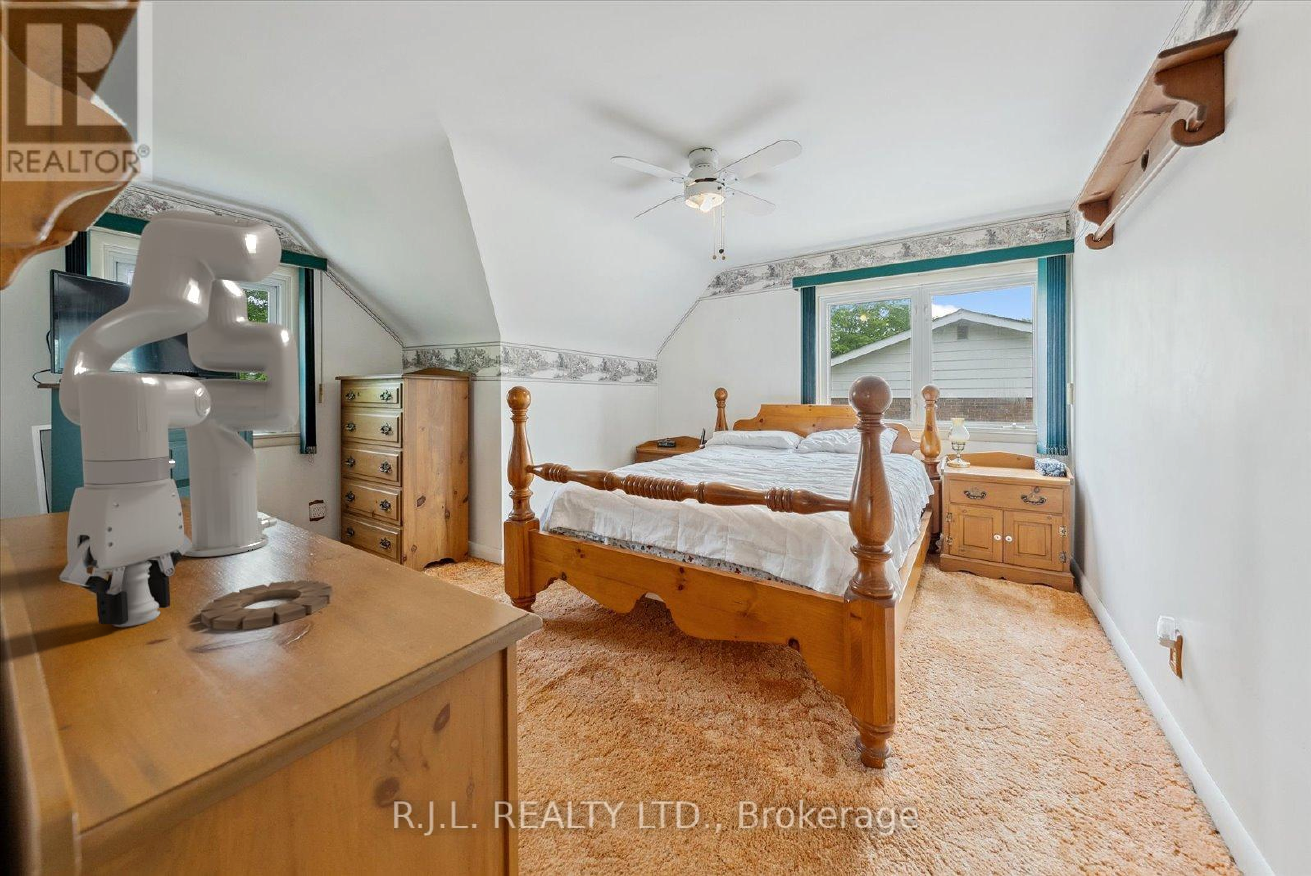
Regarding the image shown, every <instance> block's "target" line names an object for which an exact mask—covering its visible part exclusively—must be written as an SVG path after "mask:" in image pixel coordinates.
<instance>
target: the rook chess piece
mask: <svg viewBox="0 0 1311 876" xmlns="http://www.w3.org/2000/svg"><path fill="white" fill-rule="evenodd" d="M151 565H152V564H151V563H150V562H149V561H147V560H146V561H143V562H140V563H136V564H133V565H129V566H126V567H125V570H124V575H123V580H122V586H121V590H120V591H124V592H126V593H127V604H128V621H127V623H124V624H122V625H113V626H114V627H116V628H130V627H135V626H141V625H143V624H148V623H150V622H152V621H154V620H155V619H157V618H158V617H159V615H160V614H161V610H159V609H160V608H159V604H158V602H156V601H155V600H154V597H152V596H151V594H150V590H149V586H148V578H149V577H150V575H148V574H147V570H148V568H149V567H150V566H151Z"/></svg>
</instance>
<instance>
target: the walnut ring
mask: <svg viewBox="0 0 1311 876" xmlns="http://www.w3.org/2000/svg"><path fill="white" fill-rule="evenodd" d="M333 593H334V591H333V587H332V585H330V584H328V583H325V582H324V581H321V582H319V580H307V579H305V580H304V579H300V580H298V581H295V580H288V581H287V580H286V581H277V582H270V583H269V584H268V585H266V584H260V585H255V586H250V587H246V588H243V589H239V591H235V592H234V591H232V592H230V593H226V594H225V595H222V596H220V597H217V598H215V599H213V601H210V602H208V603H207V604H206V605H205V606H204V607H203V609H202V610H201V614H200V615H201V619H200V620H201V623H202V624H204V625H205V626H206V627H207V628H208V629H210V628H213V630H224V631H238V630H239V629H241V628H242V630H243V631H244V630H252V629H257V628H258V629H259V628H266V627H273V625H274V623H275V622H276V623H277V624H279V625H282V624H285V623H288V622H292V621H295V620H299V619H301V618H306V615H307V614H308V615H313V614H315V613H317V612H318V611H320V610H321V609H323V608H325V607H327V606H328V604H330V603H331V602H332V599H333ZM280 598H292V599H293V598H294V599H293V600H291V601H289V602H286V603H285V602H284V603H281V604H278V605H275V606H269V607H268V606H267V607H260V608H249V607H248V606H250V605H252V604H256V603H259V602H263V601H268V600H272V599H280ZM246 607H247V608H246Z"/></svg>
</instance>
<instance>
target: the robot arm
mask: <svg viewBox="0 0 1311 876" xmlns="http://www.w3.org/2000/svg"><path fill="white" fill-rule="evenodd" d="M137 249H138V250H137V255H136V259H135V265H134V269H133V275H132V281H131V283H130V284H131V285H130V289H129V290H130V291H129V296H128V299H127V301H126V302H124V303H123V304H122V305H120V306H118V307H116V308H114V309H111V310H110V311H109V312H107V313H105V314H104V315H103V314H102V316H101V317H99V318H97V319H96V320H95V321H93V322H92V323H91V324H90V325H88V326H87V327H86V328H84V330H82V331H81V332H80V333H79V334H78V335H77V336H76V338H75V339H73V341H72V343H71V344H70V346H69V349H68V350H67V353H66V356H65V362H64V365H63V369H62V373H61V378H60V384H59V391H58V401H59V406H60V410H61V411H62V414H63V415H64V417H66V419H67V420H68V421H70V422H71V423H73V424H74V425H76V426H80V440H81V456H82V474H83V486H82V487H76V488H75V490H74V493H73V495H72V499H71V503H70V507H69V513H68V514H69V515H68V520H67V521H68V523H67V536H66V537H67V538H66V539H67V540H66V550H67V551H66V553H67V556H66V557H67V558H66V559H67V564H66V566H65V567H64V568H63V570H62V571H61V573H60V575H59V580H60V581H62V582H65V583H69V584H74V585H77V586H79V587H81V588H84V589H85V590H88V591H89V593H90V594H96V595H95V596H96V609H97V613H96V614H97V618H98V622H99V624H101V625H113V626H114V625H122V624H124V623H127V621H128V604H127V593H126V592H124V591H121V586H122V580H123V575H124V570H125V567H126V566H129V565H133V564H136V563H140V562H143V561H146V560H147V561H149V562H150V563H151V564H152V565H151V566H150V567H149V568H148V570H147V574H148V575H150V577H149V578H148V586H149V590H150V594H151V596H152V597H154V600H155V601H156V602H158V604H159V608H158V609H165V608H168V607H170V606H171V595H170V594H171V592H170V590H171V589H170V577H171V576H173V575H174V573H175V567H176V565H178V563H179V562H180V561H181V558H182V556H184V557H185V556H186V557H195V558H196V557H197V558H201V557H202V558H205V557H206V558H207V557H219V556H227V555H233V554H239V553H240V554H241V553H245V552H249V551H253V550H257V549H259V548H262V547H264V546H266V545H267V544H268V543H269V536H268V535H267V534H264V533H263V531H264V530H265V529H268V528H272V527H274V526H276V525H277V523H278V520H277V518H276V517H274V516H271V517H268V518H267V517H266V518H264V519H262V517H258V491H257V490H258V487H257V466H256V465H257V462H256V461H257V460H256V454H255V451H254V449H253V447H252V446H251V445H250V443H249V442H248V441H246V440H245V438H243V436H241V435H240V433H238V432H247V431H248V432H251V431H253V432H256V431H257V432H258V431H259V432H261V431H263V432H264V431H266V432H267V431H268V432H270V431H286V430H290V429H292V428H294V427H295V426H296V425H297V423H298V420H299V416H300V387H299V386H300V385H299V358H298V346H297V343H296V339H295V337H294V334H293V333H292V331H291V330H290V329H289V328H288V327H287V326H285V325H282V324H278V323H273V322H260V321H259V322H258V321H251V320H249V318H248V299H247V294H246V293H245V290H244V289H243V288H242V287H241V285H240V284H239V283H259V282H261V281H263V280H264V279H266V278H267V277H268V276H269V275H270V274H273V272H274V271H276V270H277V268H278V267H279V265H280V262H281V258H282V244H281V240H280V237H279V235H278V233H277V231H276V229H274V227H272V226H271V225H270V224H268V223H266V222H265V221H264V222H263V221H260V220H259V221H258V220H253V219H246V218H241V217H239V218H238V217H234V216H233V217H232V216H224V215H218V214H212V213H205V212H199V211H198V212H197V211H191V210H176V209H175V210H173V209H171V210H169V209H168V210H161V211H157V212H155V213H154V214H153V215H152V216H151V218H150V221H149V222H148V223H146V225H145V226H144V228H142V232H141V235H140V240H139V244H138V248H137ZM238 282H239V283H238ZM186 333H187V334H186ZM183 334H186V335H187V346H188V347H187V348H188V353H189V354H188V355H189V357H190V360H191V363H192V364H193V365H195V367H197V368H199V369H202V370H206V371H213V372H225V373H244V374H245V373H247V374H264V375H266V377H267V379H268V380H255V379H253V380H252V379H236V378H233V379H232V378H231V379H230V378H207V379H206V378H204V379H199V380H198V379H195V378H193V377H191V376H186V375H183V374H181V375H180V374H170V373H169V374H165V373H163V374H162V373H147V372H146V373H145V372H143V373H142V372H141V373H140V372H120V371H119V372H112V371H110V370H111V368H112V367H113V365H114V364H115V363H116V362H117V361H118V360H119V359H120V358H121V357H123V356H124V355H125V354H127V353H129V352H131V351H133V350H134V349H136V348H139V347H142V346H145V345H147V344H150V343H154V342H158V341H163V340H165V339H169V338H173V337H176V336H179V335H183ZM169 429H170V430H171V429H172V430H173V429H174V430H175V429H176V430H177V429H178V430H179V429H184V431H185V436H186V444H187V455H188V457H187V459H188V473H189V476H188V477H189V494H190V495H189V497H190V498H189V499H190V501H189V502H190V516H191V518H190V521H191V539H190V538H189V537H188V536H187V535H186V534H185V527H184V515H183V510H182V509H183V508H182V504H181V499H180V494H179V492H178V488H177V485H176V482H175V480H174V478H171V469H173V468H175V466H176V461H175V460H174V459H173V458H170V444H169V443H170V442H169ZM252 549H253V550H252ZM248 550H249V551H248ZM89 568H92V573H88V569H89ZM107 575H108V578H107Z"/></svg>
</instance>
